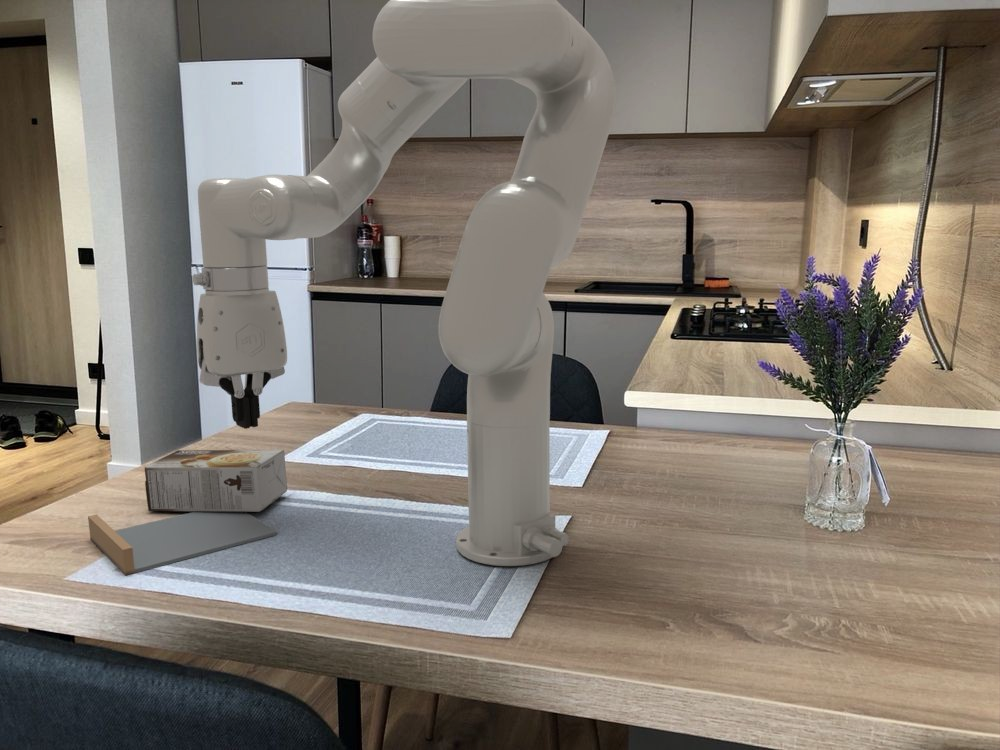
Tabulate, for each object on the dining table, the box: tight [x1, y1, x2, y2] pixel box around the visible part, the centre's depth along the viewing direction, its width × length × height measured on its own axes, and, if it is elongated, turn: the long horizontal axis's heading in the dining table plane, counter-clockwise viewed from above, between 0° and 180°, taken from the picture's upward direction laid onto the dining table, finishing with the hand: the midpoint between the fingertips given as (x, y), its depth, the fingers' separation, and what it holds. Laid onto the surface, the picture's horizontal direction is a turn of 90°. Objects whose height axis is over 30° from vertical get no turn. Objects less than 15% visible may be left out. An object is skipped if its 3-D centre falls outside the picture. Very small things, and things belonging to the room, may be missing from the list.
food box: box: [144, 449, 288, 513], centre depth 115 cm, size 9×6×16 cm
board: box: [87, 511, 278, 576], centre depth 103 cm, size 14×18×3 cm
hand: (246, 425), depth 107 cm, fingers closed
